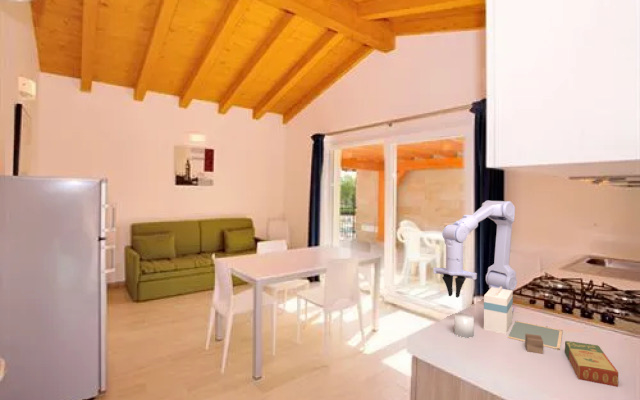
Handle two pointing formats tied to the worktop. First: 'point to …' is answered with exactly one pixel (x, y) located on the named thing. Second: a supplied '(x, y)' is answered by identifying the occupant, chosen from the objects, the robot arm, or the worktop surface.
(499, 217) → the robot arm
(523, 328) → the display mat
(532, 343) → the walnut block
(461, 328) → the white glossy dome
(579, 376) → the carton
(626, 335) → the worktop surface
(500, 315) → the milk carton
